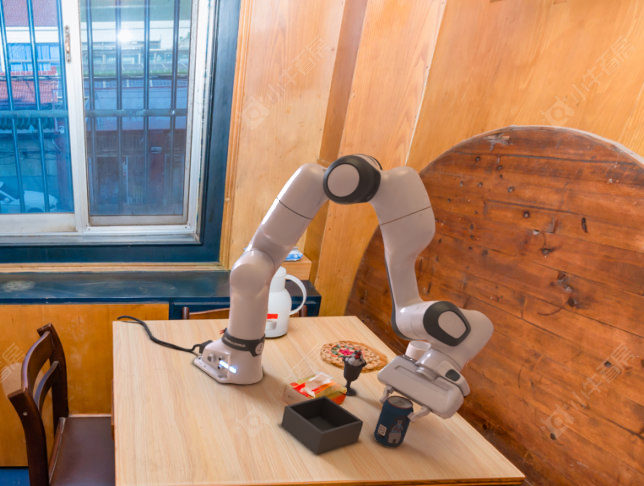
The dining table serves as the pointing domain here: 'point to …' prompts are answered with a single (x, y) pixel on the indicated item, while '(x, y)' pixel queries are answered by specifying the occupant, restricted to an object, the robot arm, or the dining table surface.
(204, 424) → the dining table surface
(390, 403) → the soda can
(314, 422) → the tub
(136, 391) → the dining table surface
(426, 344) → the white tall cylinder
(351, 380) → the sundae
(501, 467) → the dining table surface
